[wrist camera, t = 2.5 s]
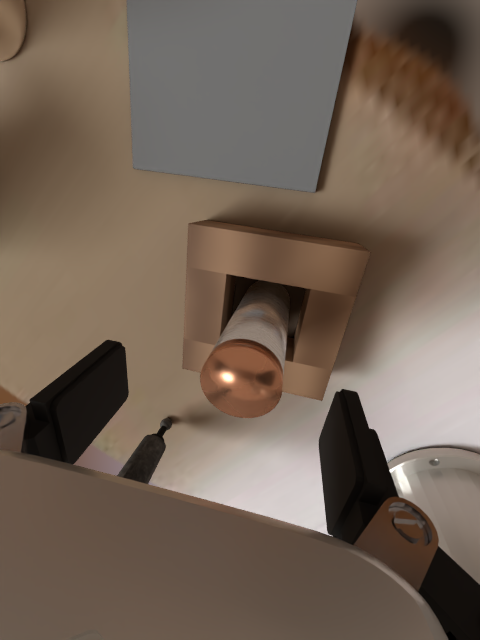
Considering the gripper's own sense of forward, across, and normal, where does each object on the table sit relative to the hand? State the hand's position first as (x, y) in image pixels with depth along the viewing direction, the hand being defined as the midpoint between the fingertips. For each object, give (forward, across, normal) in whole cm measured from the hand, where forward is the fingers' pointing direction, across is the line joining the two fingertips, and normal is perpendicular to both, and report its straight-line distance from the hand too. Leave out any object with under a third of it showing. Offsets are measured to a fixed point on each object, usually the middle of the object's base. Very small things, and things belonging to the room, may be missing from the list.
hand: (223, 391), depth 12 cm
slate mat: (+14, +4, -15) cm, 21 cm away
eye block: (+13, -1, +1) cm, 13 cm away
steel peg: (+13, -1, +1) cm, 13 cm away
